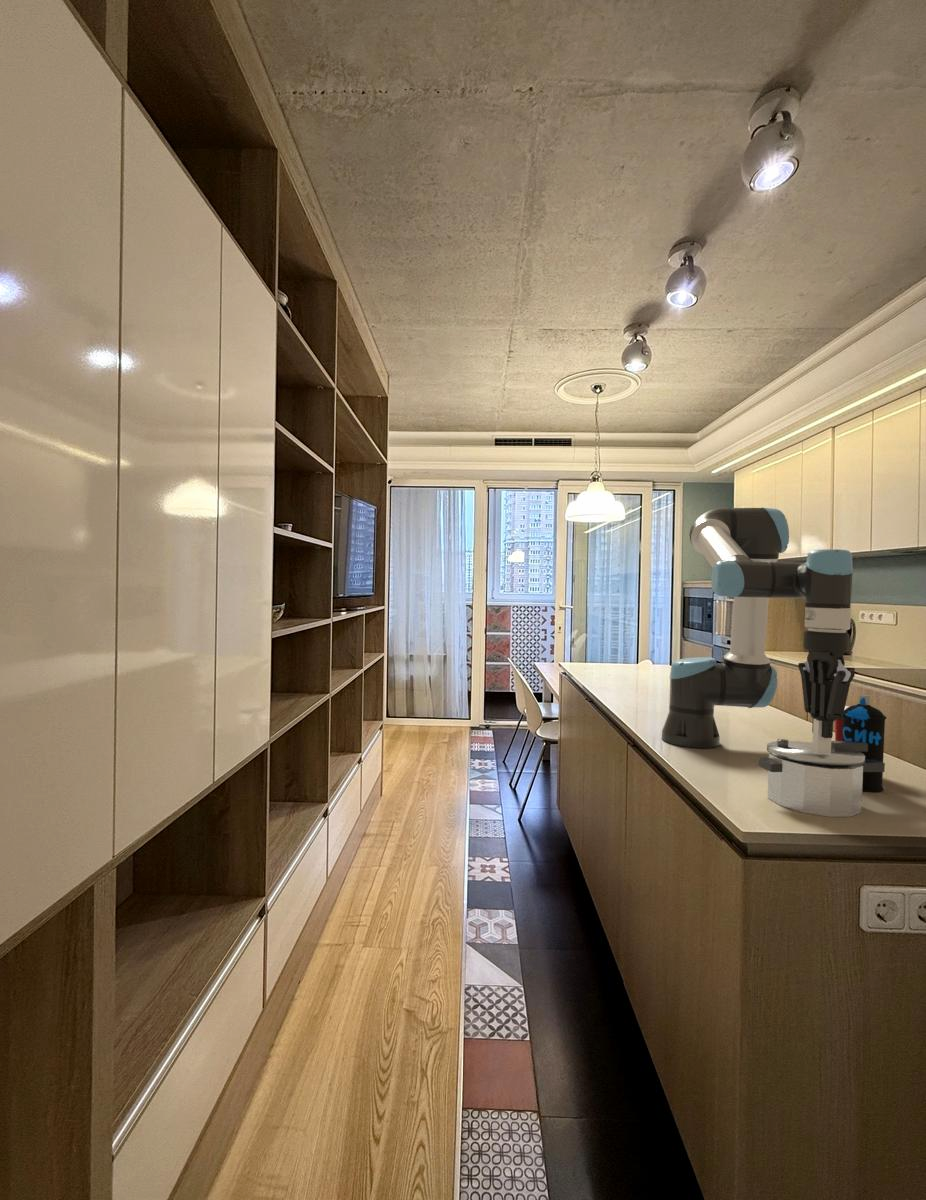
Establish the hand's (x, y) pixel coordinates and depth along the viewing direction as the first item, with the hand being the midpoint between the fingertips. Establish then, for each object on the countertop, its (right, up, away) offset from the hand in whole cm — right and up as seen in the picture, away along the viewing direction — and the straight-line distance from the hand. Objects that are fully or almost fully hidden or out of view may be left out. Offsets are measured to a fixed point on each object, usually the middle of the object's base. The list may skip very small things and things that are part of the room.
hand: (821, 753), depth 116 cm
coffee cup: (+24, -12, +28) cm, 38 cm away
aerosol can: (+18, -12, +17) cm, 27 cm away
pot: (+3, -11, +6) cm, 13 cm away
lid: (+2, -2, +5) cm, 6 cm away
